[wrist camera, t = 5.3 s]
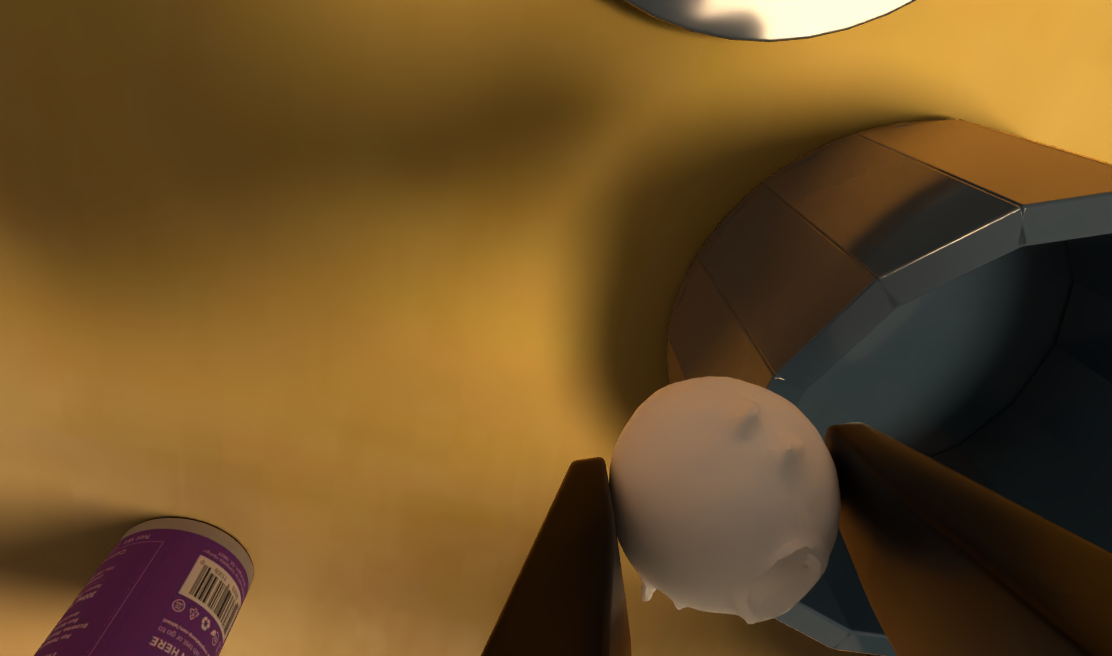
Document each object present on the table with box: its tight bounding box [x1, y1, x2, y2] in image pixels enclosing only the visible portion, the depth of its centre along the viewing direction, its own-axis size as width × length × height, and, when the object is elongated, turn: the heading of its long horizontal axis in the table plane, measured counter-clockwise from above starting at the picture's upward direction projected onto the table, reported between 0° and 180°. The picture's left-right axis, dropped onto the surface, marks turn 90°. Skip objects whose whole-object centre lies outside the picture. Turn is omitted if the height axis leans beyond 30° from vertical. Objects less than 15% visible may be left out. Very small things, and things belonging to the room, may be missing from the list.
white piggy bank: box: [609, 376, 841, 624], centre depth 8 cm, size 3×3×3 cm
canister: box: [667, 119, 1112, 656], centre depth 16 cm, size 13×13×6 cm
